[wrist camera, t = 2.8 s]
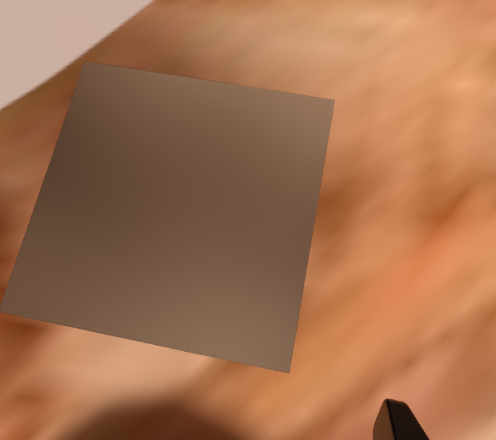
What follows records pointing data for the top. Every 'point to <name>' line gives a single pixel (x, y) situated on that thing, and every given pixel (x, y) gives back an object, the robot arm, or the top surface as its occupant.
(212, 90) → the walnut block
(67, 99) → the top surface
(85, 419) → the top surface
